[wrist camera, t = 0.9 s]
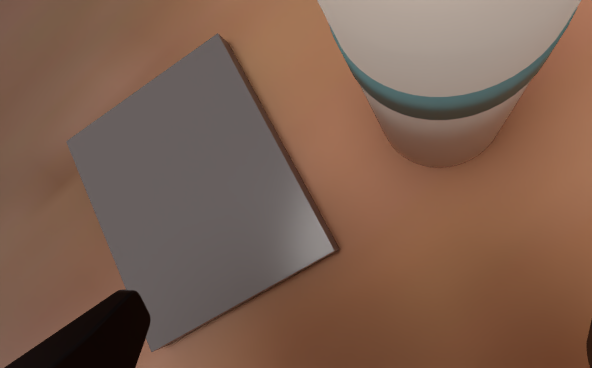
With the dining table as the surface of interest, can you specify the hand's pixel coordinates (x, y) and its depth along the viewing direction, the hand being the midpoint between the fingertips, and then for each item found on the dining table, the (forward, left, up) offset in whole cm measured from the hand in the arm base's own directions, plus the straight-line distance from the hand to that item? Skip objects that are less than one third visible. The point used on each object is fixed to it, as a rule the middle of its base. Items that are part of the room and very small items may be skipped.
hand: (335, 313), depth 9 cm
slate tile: (+8, +7, -13) cm, 17 cm away
